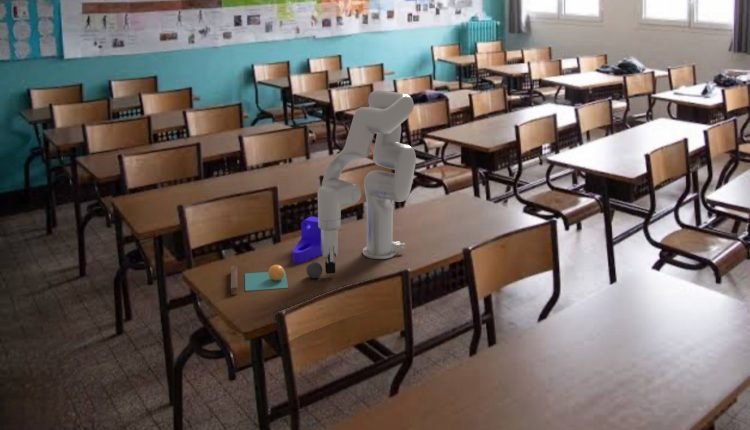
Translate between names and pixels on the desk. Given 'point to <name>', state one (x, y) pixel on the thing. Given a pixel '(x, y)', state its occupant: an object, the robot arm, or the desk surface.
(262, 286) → the teal mark
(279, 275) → the orange ball
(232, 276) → the wooden bar
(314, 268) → the grey ball
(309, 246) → the bracket
